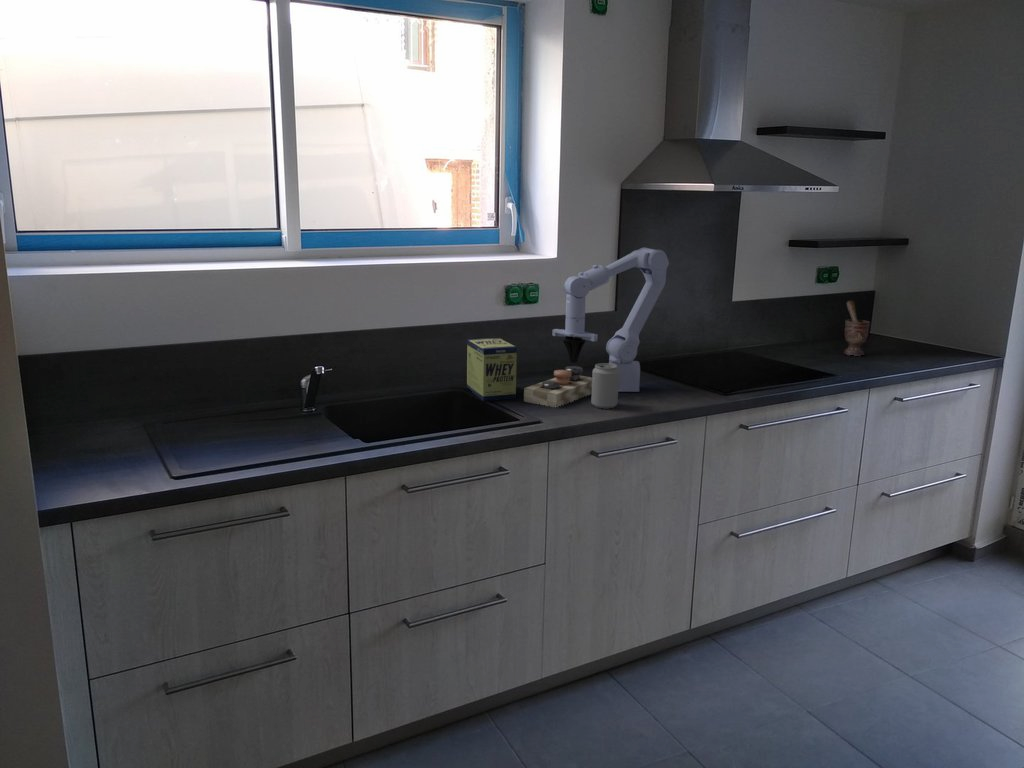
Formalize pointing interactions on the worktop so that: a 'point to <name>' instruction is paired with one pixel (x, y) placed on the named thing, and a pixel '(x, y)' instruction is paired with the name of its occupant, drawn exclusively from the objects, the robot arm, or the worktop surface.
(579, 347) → the robot arm
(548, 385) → the knob
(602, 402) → the can
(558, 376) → the knob middle
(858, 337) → the mortar and pestle
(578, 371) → the knob
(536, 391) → the console
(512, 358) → the protein box
